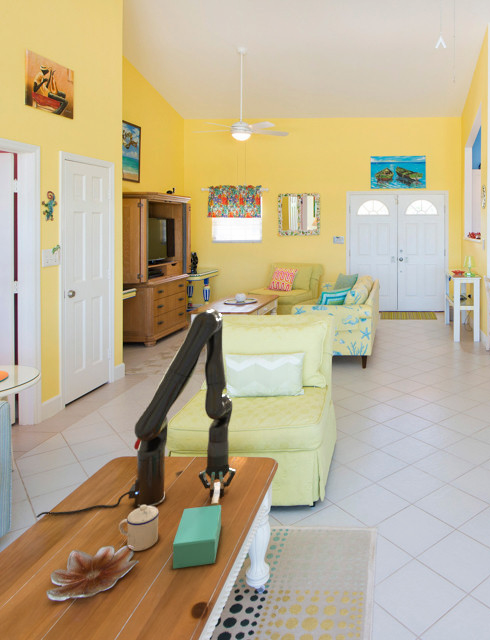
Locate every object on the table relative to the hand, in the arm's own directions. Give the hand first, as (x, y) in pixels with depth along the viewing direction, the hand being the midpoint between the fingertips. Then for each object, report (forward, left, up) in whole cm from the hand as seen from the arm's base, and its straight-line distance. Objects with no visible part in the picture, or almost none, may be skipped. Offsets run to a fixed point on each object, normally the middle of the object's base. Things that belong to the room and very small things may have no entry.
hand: (216, 497), depth 171 cm
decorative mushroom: (-32, +32, -1) cm, 45 cm away
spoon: (0, 0, 0) cm, 0 cm away
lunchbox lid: (-3, -26, +6) cm, 27 cm away
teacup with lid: (-22, -20, -1) cm, 29 cm away
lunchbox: (-3, -26, -1) cm, 26 cm away
